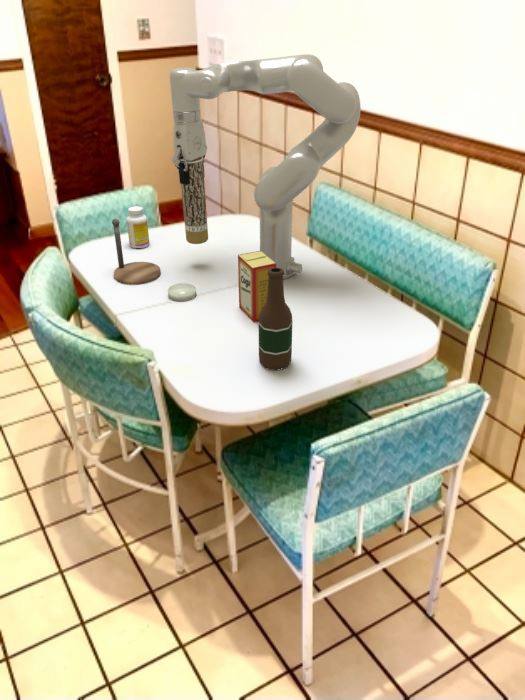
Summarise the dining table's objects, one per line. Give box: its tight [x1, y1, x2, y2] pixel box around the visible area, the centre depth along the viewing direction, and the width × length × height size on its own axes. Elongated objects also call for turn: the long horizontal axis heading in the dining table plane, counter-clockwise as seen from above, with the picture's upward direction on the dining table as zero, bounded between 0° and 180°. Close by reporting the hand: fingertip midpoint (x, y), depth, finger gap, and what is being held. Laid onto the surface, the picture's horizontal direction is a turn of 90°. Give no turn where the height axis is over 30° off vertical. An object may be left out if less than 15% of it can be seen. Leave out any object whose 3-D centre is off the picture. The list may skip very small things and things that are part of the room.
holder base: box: [111, 218, 162, 286], centre depth 190 cm, size 14×14×17 cm
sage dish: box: [167, 283, 197, 302], centre depth 182 cm, size 8×8×2 cm
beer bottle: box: [258, 267, 293, 371], centre depth 145 cm, size 8×8×24 cm
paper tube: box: [180, 157, 209, 245], centre depth 189 cm, size 7×7×25 cm
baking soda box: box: [237, 250, 276, 323], centre depth 169 cm, size 10×6×16 cm
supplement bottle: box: [126, 205, 150, 249], centre depth 211 cm, size 7×7×13 cm
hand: (192, 180), depth 186 cm, fingers closed on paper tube, 6 cm apart
